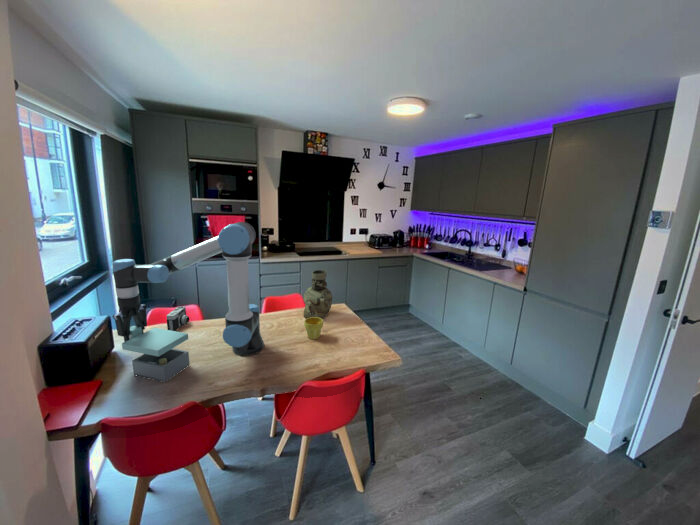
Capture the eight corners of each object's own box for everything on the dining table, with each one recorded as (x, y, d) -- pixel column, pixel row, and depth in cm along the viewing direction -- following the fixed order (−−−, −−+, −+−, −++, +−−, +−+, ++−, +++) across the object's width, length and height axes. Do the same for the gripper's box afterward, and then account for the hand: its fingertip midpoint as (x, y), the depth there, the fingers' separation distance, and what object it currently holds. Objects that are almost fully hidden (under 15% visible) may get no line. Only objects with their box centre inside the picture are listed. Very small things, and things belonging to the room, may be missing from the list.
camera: (182, 331, 161) (180, 314, 158) (167, 331, 160) (165, 314, 158) (193, 321, 174) (192, 305, 172) (179, 320, 173) (178, 305, 171)
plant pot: (300, 338, 158) (300, 322, 156) (310, 331, 167) (310, 315, 165) (317, 342, 154) (317, 326, 152) (325, 334, 164) (326, 319, 162)
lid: (188, 340, 128) (187, 327, 127) (158, 357, 114) (157, 344, 112) (146, 332, 133) (145, 320, 132) (113, 348, 119) (111, 335, 118)
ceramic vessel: (312, 325, 175) (313, 278, 168) (297, 313, 191) (297, 270, 185) (338, 319, 186) (340, 274, 179) (322, 308, 202) (323, 267, 196)
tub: (189, 365, 129) (188, 351, 128) (165, 382, 117) (163, 367, 116) (160, 359, 133) (159, 345, 132) (134, 375, 121) (131, 360, 119)
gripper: (140, 288, 130) (146, 335, 135) (99, 301, 114) (108, 354, 119) (153, 290, 128) (159, 338, 133) (114, 303, 112) (122, 357, 117)
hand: (135, 345), depth 126 cm, fingers closed on lid, 4 cm apart
